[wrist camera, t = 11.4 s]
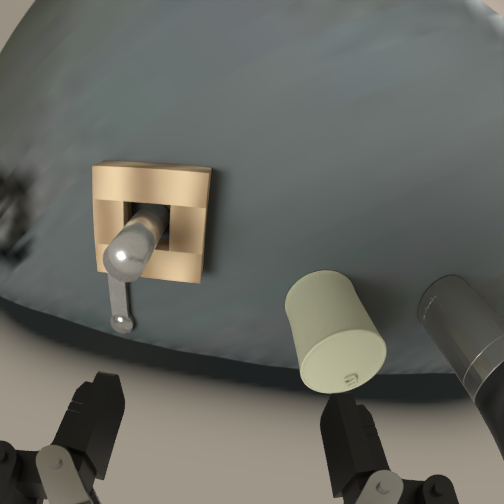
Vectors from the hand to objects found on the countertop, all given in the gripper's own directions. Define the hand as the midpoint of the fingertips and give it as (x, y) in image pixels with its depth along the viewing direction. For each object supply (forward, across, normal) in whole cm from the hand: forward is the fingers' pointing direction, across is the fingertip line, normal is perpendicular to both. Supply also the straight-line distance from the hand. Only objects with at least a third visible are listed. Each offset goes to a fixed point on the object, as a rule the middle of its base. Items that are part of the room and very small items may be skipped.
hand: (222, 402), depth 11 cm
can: (+26, -12, +11) cm, 31 cm away
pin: (+25, +9, +2) cm, 27 cm away
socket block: (+25, +9, +2) cm, 27 cm away
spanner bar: (+25, +14, +12) cm, 31 cm away
